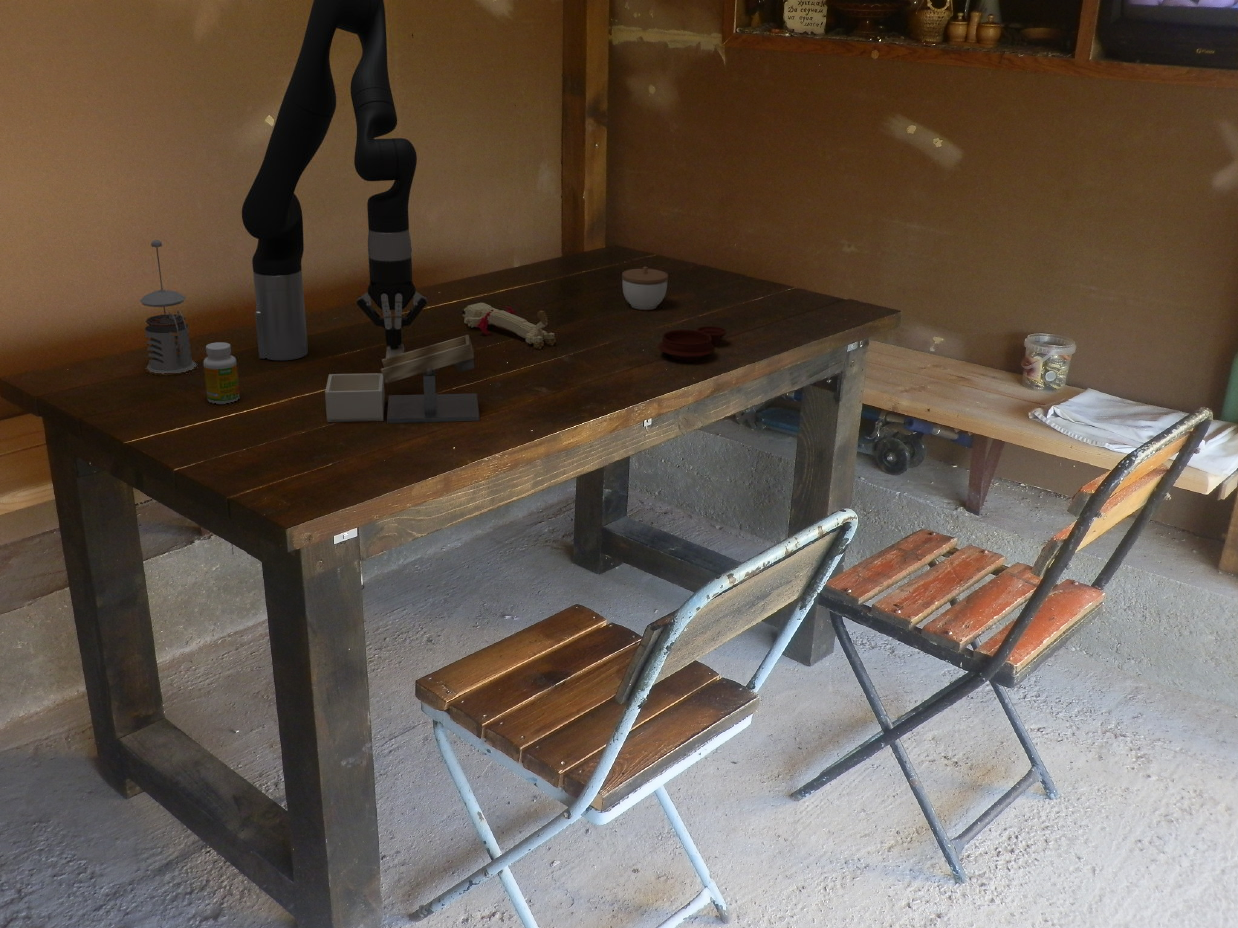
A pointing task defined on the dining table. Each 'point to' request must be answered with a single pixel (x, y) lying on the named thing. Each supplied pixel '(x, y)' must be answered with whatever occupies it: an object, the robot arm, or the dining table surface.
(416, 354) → the chute
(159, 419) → the dining table surface
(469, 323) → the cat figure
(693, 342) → the pottery
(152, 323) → the french press
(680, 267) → the dining table surface
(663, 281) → the lidded jar
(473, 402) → the stand
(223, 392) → the supplement bottle
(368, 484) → the dining table surface
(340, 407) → the open grey tray box
